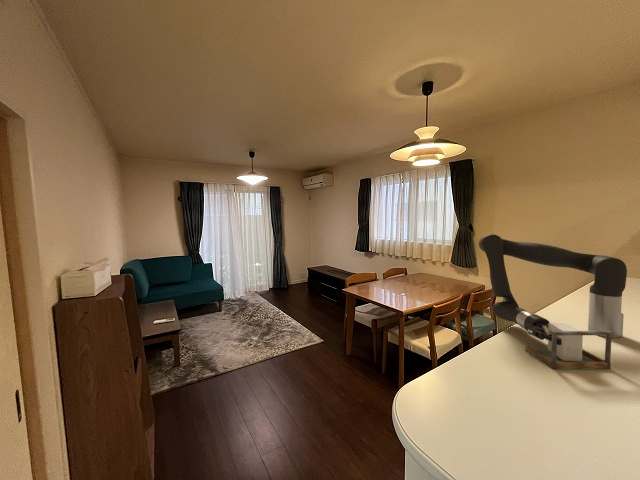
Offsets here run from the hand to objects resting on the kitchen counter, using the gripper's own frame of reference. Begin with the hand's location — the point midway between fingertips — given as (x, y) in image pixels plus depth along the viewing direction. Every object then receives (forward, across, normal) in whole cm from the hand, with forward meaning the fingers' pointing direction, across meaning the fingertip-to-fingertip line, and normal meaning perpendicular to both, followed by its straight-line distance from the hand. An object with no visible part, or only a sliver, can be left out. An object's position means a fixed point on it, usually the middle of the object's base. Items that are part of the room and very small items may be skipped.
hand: (570, 342), depth 88 cm
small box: (-2, 0, +6) cm, 7 cm away
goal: (-2, 0, +7) cm, 7 cm away
